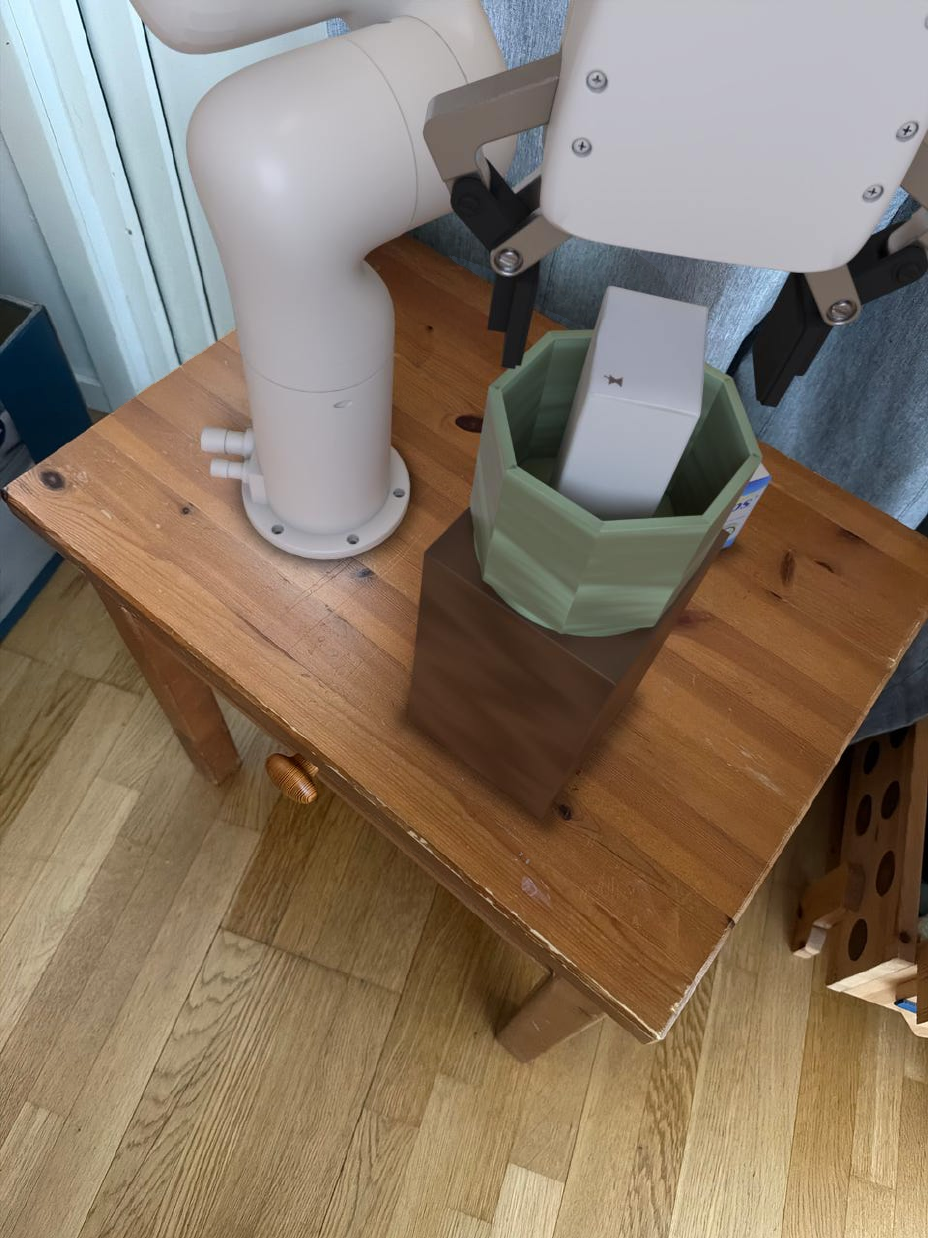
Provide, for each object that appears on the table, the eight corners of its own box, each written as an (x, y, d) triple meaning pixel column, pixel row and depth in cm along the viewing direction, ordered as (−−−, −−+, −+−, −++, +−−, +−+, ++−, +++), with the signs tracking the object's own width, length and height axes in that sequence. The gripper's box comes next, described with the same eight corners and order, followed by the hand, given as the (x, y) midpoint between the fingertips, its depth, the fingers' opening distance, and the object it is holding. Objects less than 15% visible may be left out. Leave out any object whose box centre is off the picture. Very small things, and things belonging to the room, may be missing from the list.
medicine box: (644, 577, 67) (678, 507, 60) (616, 531, 69) (646, 458, 62) (731, 547, 70) (775, 476, 62) (702, 503, 71) (741, 430, 64)
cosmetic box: (619, 595, 42) (702, 418, 31) (530, 576, 42) (583, 392, 31) (632, 495, 45) (712, 303, 34) (549, 477, 45) (604, 280, 34)
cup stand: (407, 719, 60) (434, 429, 35) (502, 610, 65) (586, 289, 40) (540, 820, 57) (672, 583, 33) (630, 699, 62) (803, 414, 37)
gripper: (1192, -233, 21) (848, 324, 36) (469, -364, 20) (423, 260, 35) (1310, -82, 17) (873, 470, 32) (432, -235, 17) (397, 401, 32)
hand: (638, 360), depth 34 cm, fingers open, 9 cm apart
